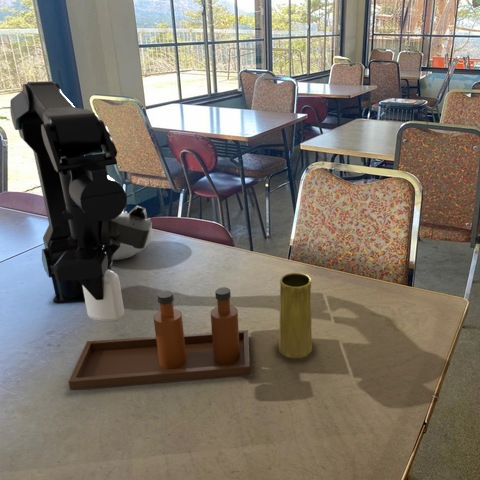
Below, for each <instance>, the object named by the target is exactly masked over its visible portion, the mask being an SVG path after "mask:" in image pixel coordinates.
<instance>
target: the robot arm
mask: <svg viewBox="0 0 480 480" xmlns="http://www.w3.org/2000/svg"><path fill="white" fill-rule="evenodd" d="M9 108H10V111H9V112H10V117H11V122H12V125H13V128H14V130H15V131H18V134H19V137H20V138H21V139H22V140H23V142H25V144H26V145H27V146H28V147H29V148H30V149H31V150H32V151H33V157H34V161H35V165H36V170H37V175H38V179H39V183H40V188H41V193H42V197H43V203H44V206H45V212H46V215H47V220H48V226H47V229H46V230H45V232H44V235H43V236H42V240H43V246H44V248H42V249H41V262H42V267H43V269H44V272H45V273H46V275H47V277H48V278H49V279H51V281H52V286H53V290H54V295H55V296H54V298H53V299H52V302H53V303H55V304H57V303H70V302H71V303H73V302H85V297H84V292H83V286H84V287H85V288H86V289H87V290H88V292H89V293H90V294H91V295H92V296H93V297H94V298H95V299H96V300H103V299H104V274H105V272H106V271H107V270H108V269H109V270H111V271H113V261H114V260H113V254H114V253H115V252H116V251H117V250H118V249H119V248H120V246H121V244H122V243H123V244H127V245H131V246H133V247H134V248H138V249H142V248H144V247H145V244H146V241H147V239H148V235H149V232H150V228H151V225H153V221H151V219H152V218H151V217H148V214H147V210H146V208H145V207H142V206H139V205H136V206H134V207H133V208H132V209H131V210H130V211H129V213H128V211H125V208H126V206H127V203H128V197H127V192H126V191H125V188H124V187H123V185H121V184H120V183H119V182H118V181H116V180H115V179H114V178H113V177H111V176H110V175H109V174H108V170H107V169H108V168H107V167H108V166H113V165H117V164H118V160H117V157H118V156H117V155H118V149H117V148H116V145H115V143H114V140H113V138H112V135H111V133H110V130H109V128H108V127H107V126H106V125H105V122H104V120H102V119H100V117H99V116H98V115H97V113H95V112H94V111H91V110H90V109H87V108H81V107H79V108H78V107H76V106H74V105H73V103H72V102H71V101H70V100H69V99H68V98H67V97H66V96H65V94H64V93H63V92H62V89H61V87H60V84H59V83H58V82H53V81H52V80H48V81H47V80H46V81H28V82H26V83H22V90H21V91H20V92H19V93H17V94H16V95H15V96H14V97H12V98H11V99H10V106H9ZM145 248H146V247H145ZM145 248H144V249H145ZM82 285H83V286H82Z"/></svg>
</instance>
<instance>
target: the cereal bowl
mask: <svg viewBox="0 0 480 480" xmlns="http://www.w3.org/2000/svg"><path fill="white" fill-rule="evenodd" d="M152 225H153V224H151V228H150V232H149V235H148V239H147V241H146V244H145V247H144V248H142V249H138V248H134V247H133V246H131V245H127V244H123V243H122V244H121V246H120V248H119V249H118V250H117V251H116V252H115V253H114V254H113V261H119V260H125V259H128V258H131V257H133V256H134V255H136V254H138V253H140V252H141V251H143V250H144V249H145V248H146V247H147V246H148V245H149V244H150V242H151V240H152V237H153V226H152Z"/></svg>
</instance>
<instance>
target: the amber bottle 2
mask: <svg viewBox="0 0 480 480" xmlns="http://www.w3.org/2000/svg"><path fill="white" fill-rule="evenodd" d="M214 293H215V299H216V304H217V306H215V307H213V308H212V309H211V310H210V324H211V325H210V326H211V333H212V339H213V353H214V360H215V361H216V362H218V363H220V364H230V363H233V362H235V361H237V360H238V358H239V357H240V349H239V331H240V330H239V311H238V308H237V307H236V306H234V305H232V304H231V301H230V300H231V297H232V296H231V295H232V294H231V289H230V288H229V287H226V286H225V287H224V286H223V287H218V288H216V289H215V291H214Z"/></svg>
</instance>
